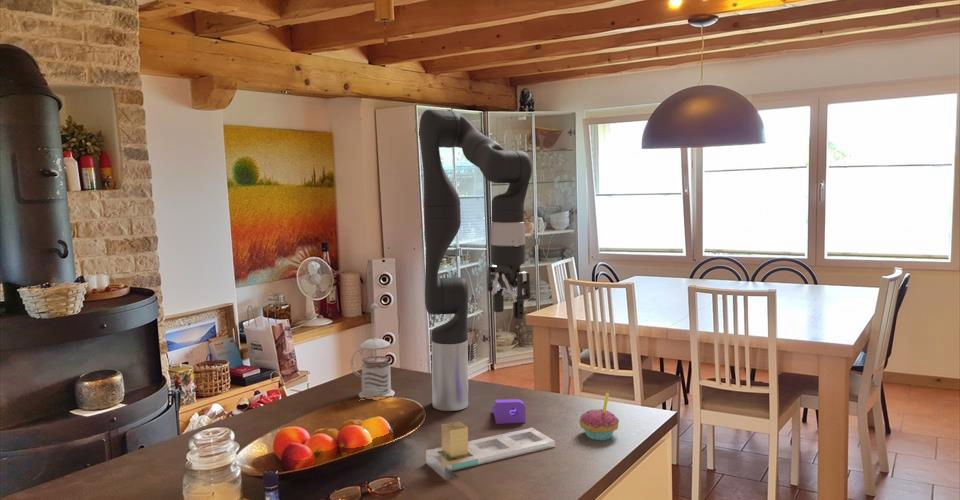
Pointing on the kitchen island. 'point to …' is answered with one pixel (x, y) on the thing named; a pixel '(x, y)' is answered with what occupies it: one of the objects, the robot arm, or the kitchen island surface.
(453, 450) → the brass block
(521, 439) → the white compartment tray
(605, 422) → the cupcake
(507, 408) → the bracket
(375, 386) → the french press
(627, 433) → the kitchen island surface
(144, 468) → the kitchen island surface
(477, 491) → the kitchen island surface
